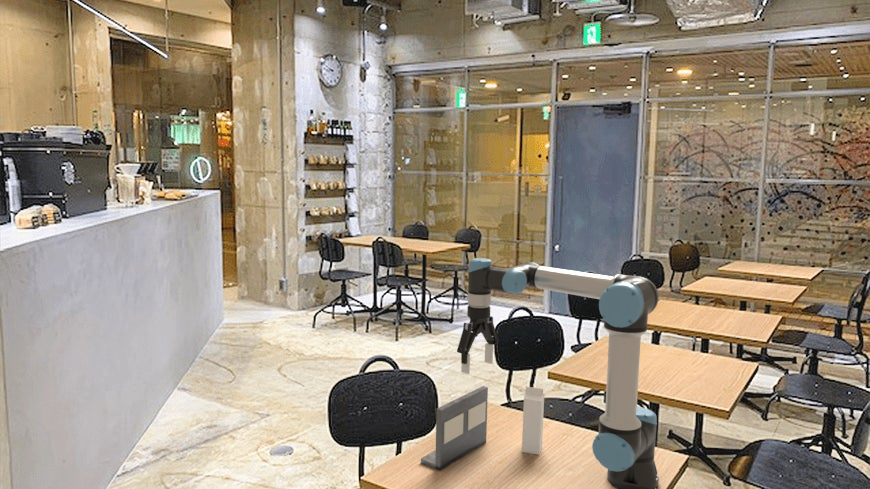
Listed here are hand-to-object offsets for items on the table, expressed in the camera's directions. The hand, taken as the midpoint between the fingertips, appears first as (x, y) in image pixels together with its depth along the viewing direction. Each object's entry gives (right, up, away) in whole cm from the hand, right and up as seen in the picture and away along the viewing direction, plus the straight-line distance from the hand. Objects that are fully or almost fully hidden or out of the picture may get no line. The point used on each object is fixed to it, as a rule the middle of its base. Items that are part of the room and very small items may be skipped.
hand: (477, 367), depth 209 cm
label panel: (-7, -29, +1) cm, 30 cm away
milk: (+19, -29, +4) cm, 35 cm away
